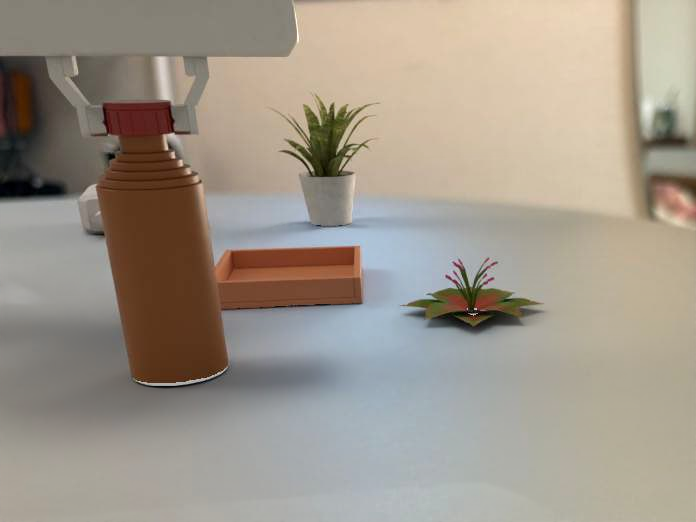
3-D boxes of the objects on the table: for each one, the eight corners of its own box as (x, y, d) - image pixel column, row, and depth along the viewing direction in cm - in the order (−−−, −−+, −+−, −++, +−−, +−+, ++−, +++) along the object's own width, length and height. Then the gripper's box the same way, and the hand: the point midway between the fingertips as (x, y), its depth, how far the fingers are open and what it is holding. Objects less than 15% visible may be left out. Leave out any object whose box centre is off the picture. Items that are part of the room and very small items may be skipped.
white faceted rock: (77, 245, 97) (92, 221, 110) (164, 240, 100) (169, 217, 113) (68, 203, 95) (85, 184, 108) (157, 199, 98) (163, 181, 111)
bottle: (121, 390, 57) (67, 113, 50) (143, 358, 62) (97, 106, 56) (221, 384, 58) (182, 113, 51) (234, 353, 64) (200, 106, 57)
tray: (207, 310, 74) (203, 283, 73) (229, 273, 86) (225, 249, 85) (362, 303, 76) (360, 277, 75) (362, 268, 88) (360, 245, 87)
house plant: (418, 220, 113) (412, 89, 107) (345, 238, 102) (334, 93, 96) (338, 209, 120) (327, 86, 113) (262, 225, 109) (246, 89, 102)
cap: (103, 136, 51) (97, 103, 51) (109, 131, 55) (103, 99, 54) (175, 135, 53) (170, 102, 52) (176, 129, 56) (172, 98, 56)
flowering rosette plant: (373, 313, 73) (370, 261, 71) (470, 286, 82) (469, 239, 80) (474, 343, 66) (473, 285, 64) (568, 310, 75) (570, 259, 73)
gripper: (-135, -143, 42) (-61, 145, 48) (288, -114, 49) (311, 135, 55) (-99, -122, 48) (-36, 135, 53) (278, -99, 55) (300, 127, 60)
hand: (143, 135), depth 54 cm, fingers closed on cap, 4 cm apart
